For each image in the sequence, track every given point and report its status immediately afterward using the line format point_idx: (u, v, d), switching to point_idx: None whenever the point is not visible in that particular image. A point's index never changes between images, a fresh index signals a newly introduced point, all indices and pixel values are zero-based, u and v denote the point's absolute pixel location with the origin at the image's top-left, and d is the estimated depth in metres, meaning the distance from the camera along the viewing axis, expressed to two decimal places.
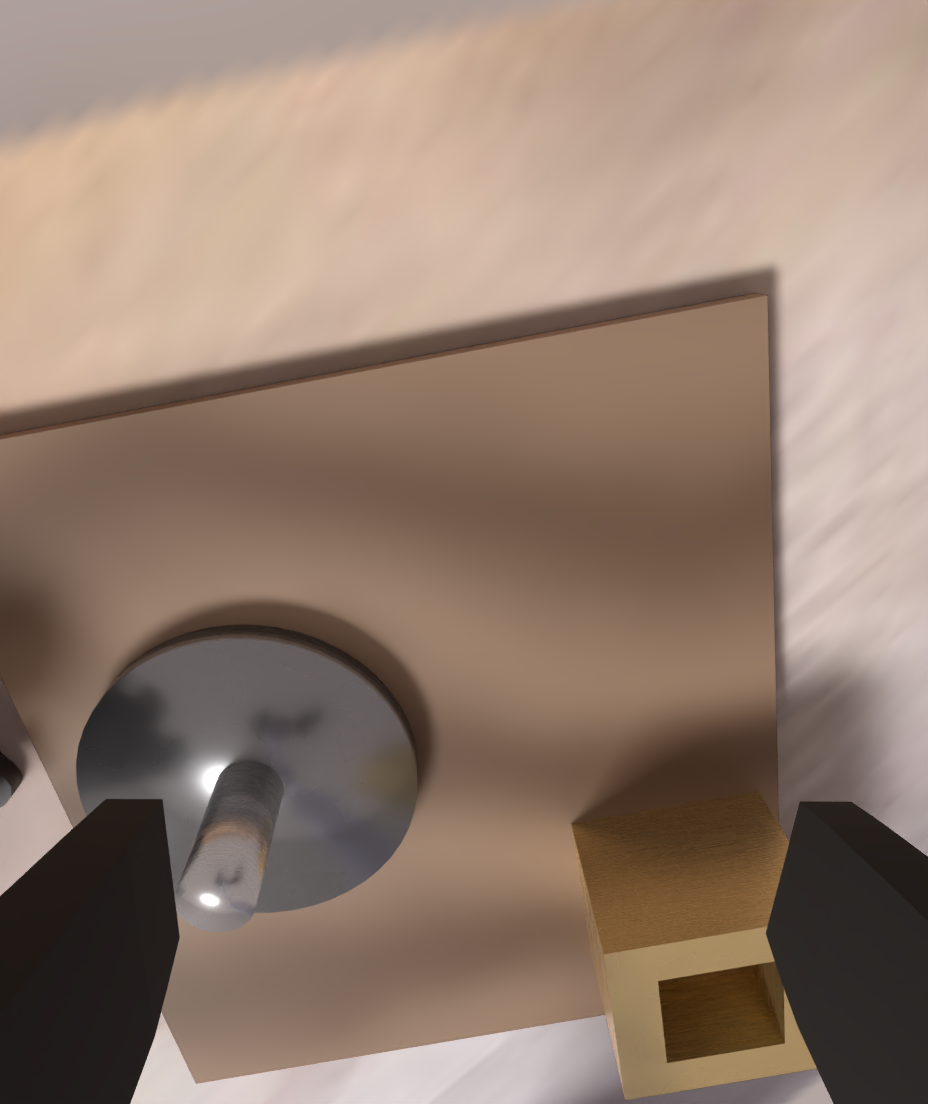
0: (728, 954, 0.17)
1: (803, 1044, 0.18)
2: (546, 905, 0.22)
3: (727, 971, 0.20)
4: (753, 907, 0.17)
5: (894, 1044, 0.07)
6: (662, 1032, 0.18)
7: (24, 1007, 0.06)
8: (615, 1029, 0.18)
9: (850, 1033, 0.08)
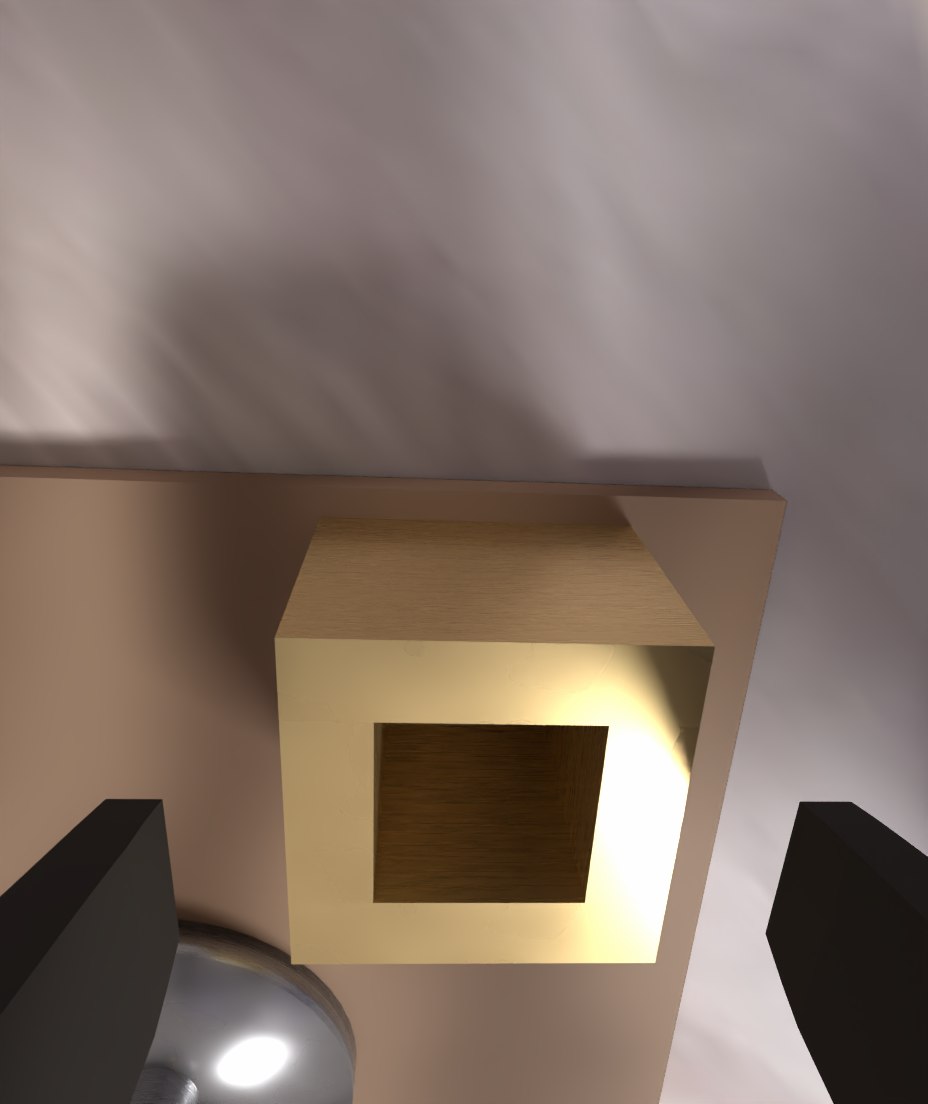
0: (335, 805, 0.10)
1: (623, 695, 0.09)
2: None
3: None
4: None
5: (894, 1045, 0.07)
6: (501, 905, 0.10)
7: (25, 1007, 0.06)
8: (473, 961, 0.11)
9: (850, 1034, 0.08)
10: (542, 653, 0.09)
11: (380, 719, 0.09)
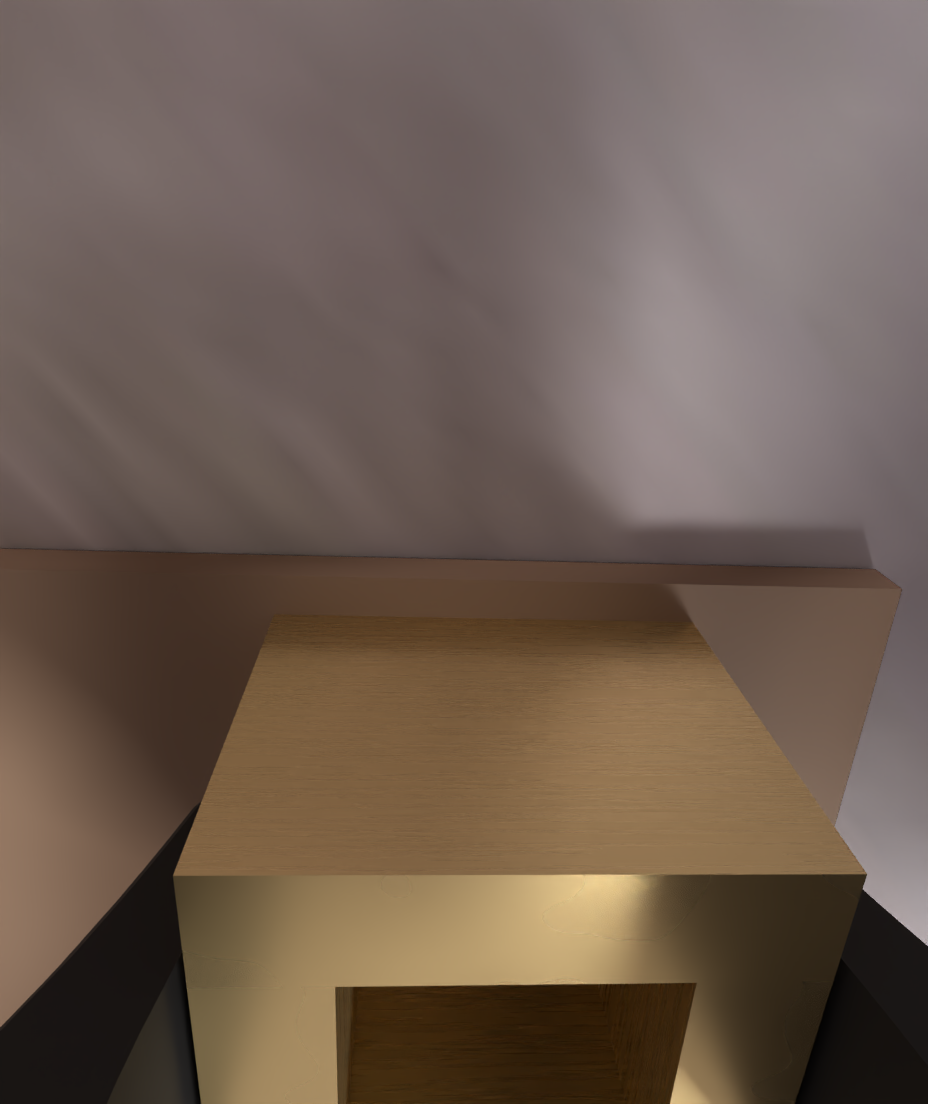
0: (279, 1093, 0.06)
1: (721, 944, 0.06)
2: None
3: None
4: None
5: None
6: None
7: (166, 1005, 0.06)
8: None
9: None
10: (597, 888, 0.06)
11: (346, 980, 0.06)
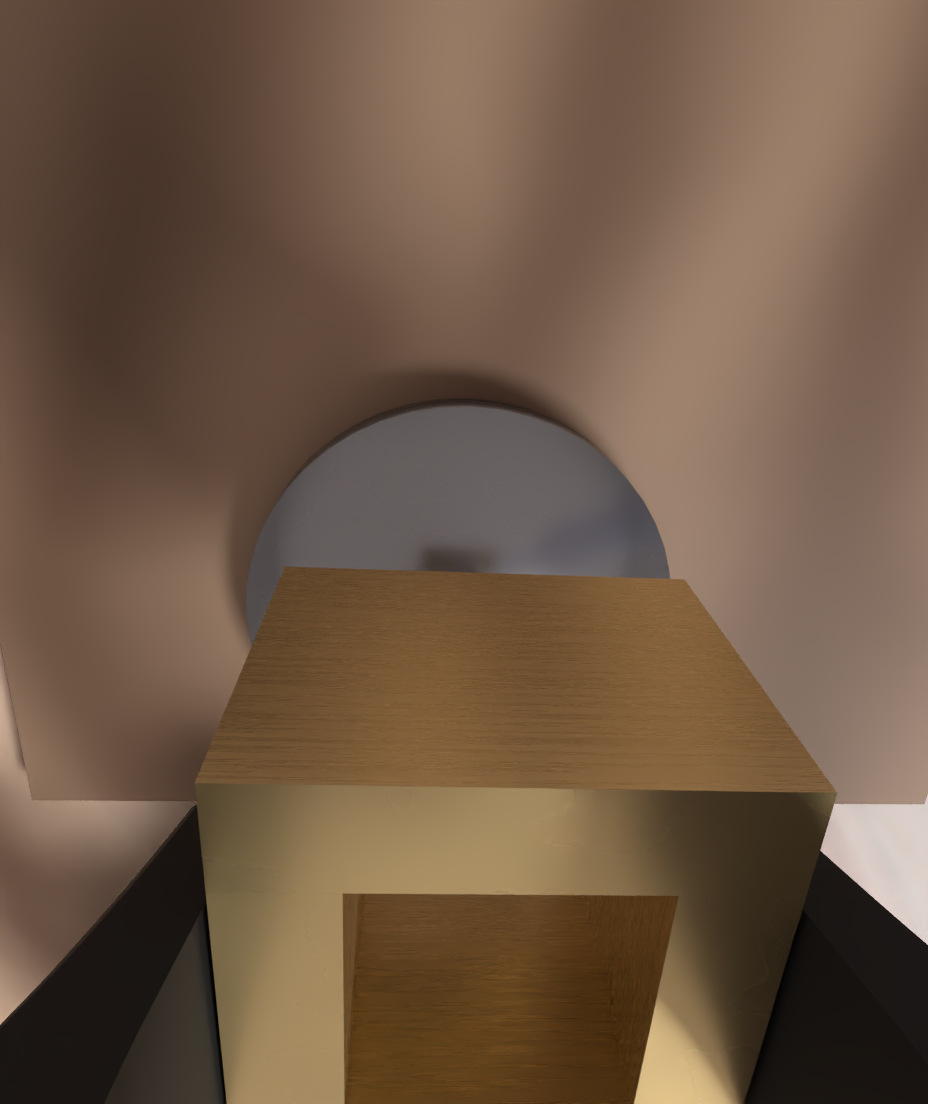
0: (289, 996, 0.07)
1: (701, 858, 0.06)
2: (837, 267, 0.13)
3: None
4: None
5: (786, 1046, 0.07)
6: None
7: (163, 1005, 0.06)
8: None
9: None
10: (586, 802, 0.06)
11: (352, 889, 0.06)
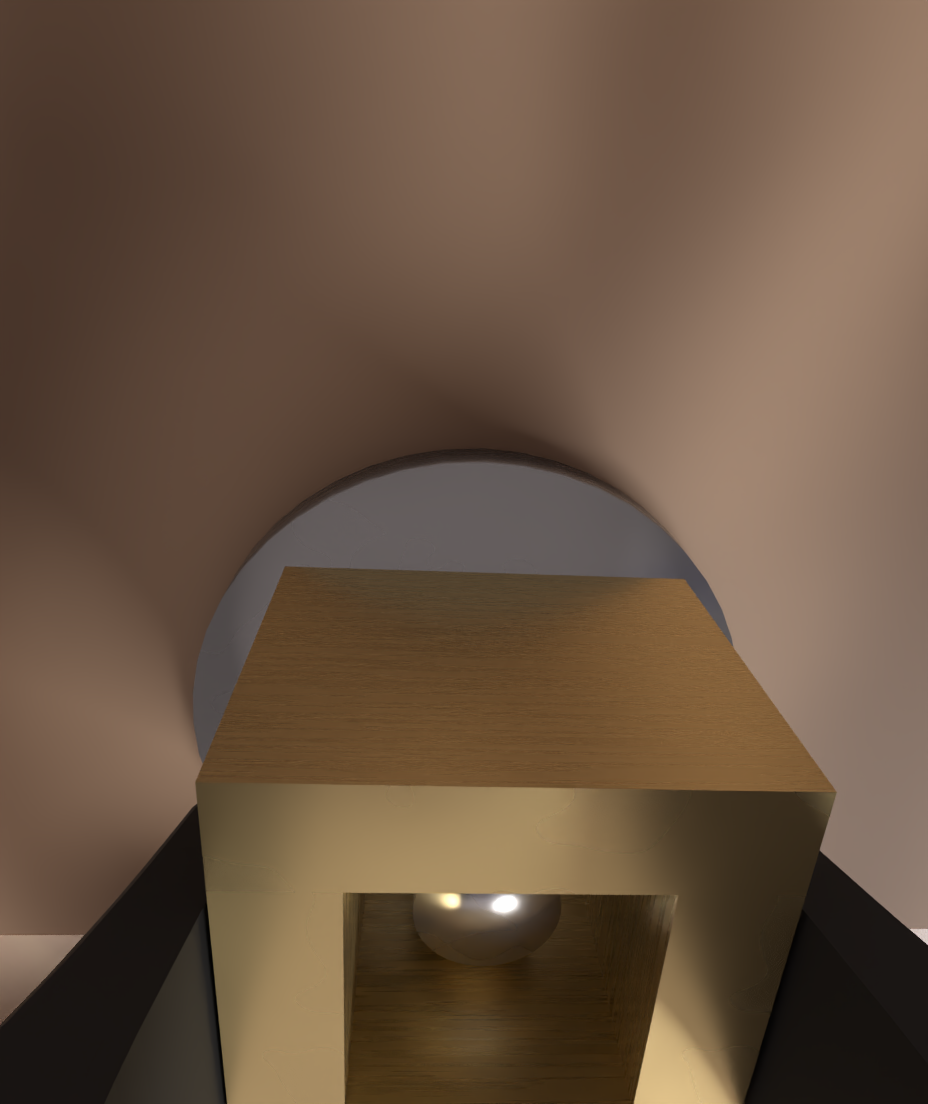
0: (290, 996, 0.07)
1: (701, 857, 0.06)
2: None
3: None
4: None
5: (786, 1046, 0.07)
6: None
7: (164, 1006, 0.06)
8: None
9: None
10: (587, 801, 0.06)
11: (352, 887, 0.06)
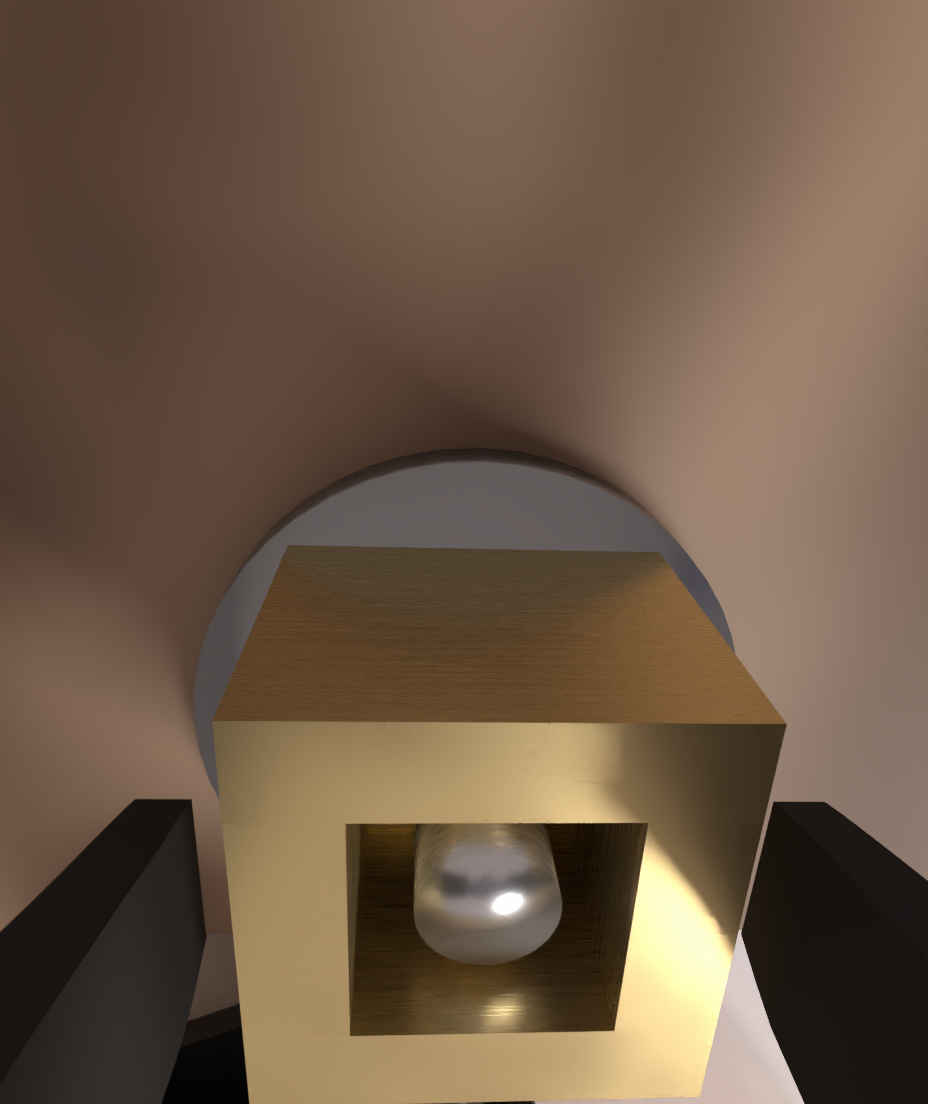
0: (298, 923, 0.07)
1: (667, 786, 0.07)
2: None
3: None
4: None
5: (862, 1045, 0.07)
6: (510, 1035, 0.08)
7: (67, 1006, 0.06)
8: (476, 1098, 0.09)
9: (820, 1034, 0.08)
10: (563, 735, 0.07)
11: (354, 819, 0.07)
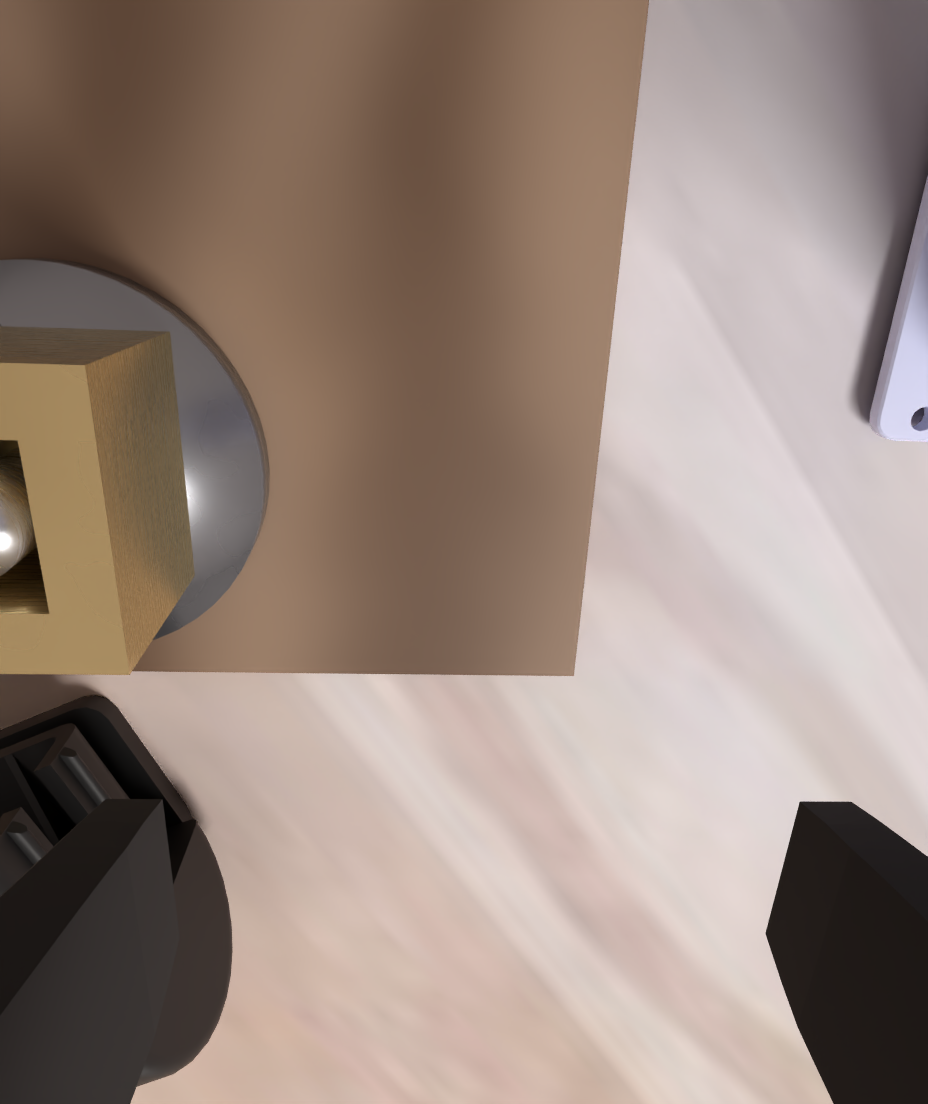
0: None
1: (20, 411, 0.11)
2: (375, 129, 0.14)
3: None
4: None
5: (894, 1044, 0.07)
6: None
7: (24, 1007, 0.06)
8: None
9: (850, 1033, 0.08)
10: None
11: None
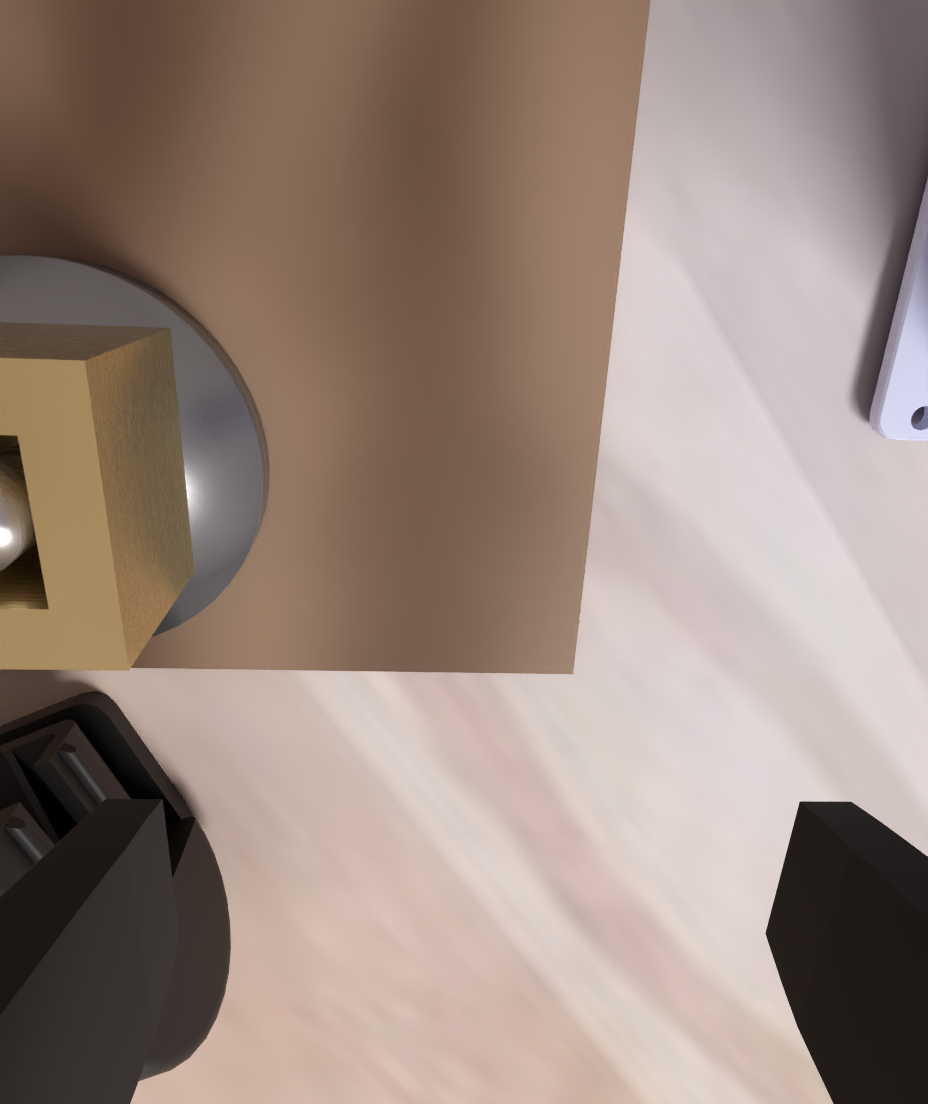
0: None
1: (20, 406, 0.11)
2: (376, 125, 0.14)
3: None
4: None
5: (894, 1044, 0.07)
6: None
7: (25, 1007, 0.06)
8: None
9: (850, 1033, 0.08)
10: None
11: None
